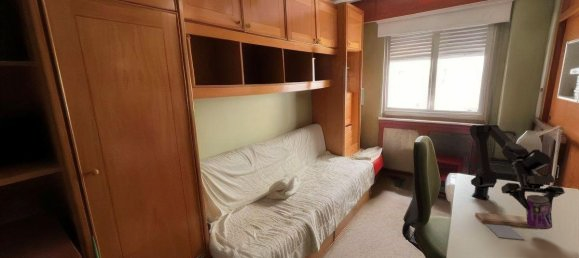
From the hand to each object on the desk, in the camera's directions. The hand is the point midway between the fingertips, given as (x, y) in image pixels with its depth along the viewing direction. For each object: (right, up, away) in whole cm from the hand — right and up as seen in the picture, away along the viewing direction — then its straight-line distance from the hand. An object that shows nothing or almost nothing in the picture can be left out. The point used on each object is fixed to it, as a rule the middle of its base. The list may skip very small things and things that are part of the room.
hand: (539, 211), depth 97 cm
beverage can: (+2, -7, +2) cm, 8 cm away
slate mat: (-9, -11, +5) cm, 15 cm away
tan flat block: (-2, -9, +13) cm, 16 cm away
